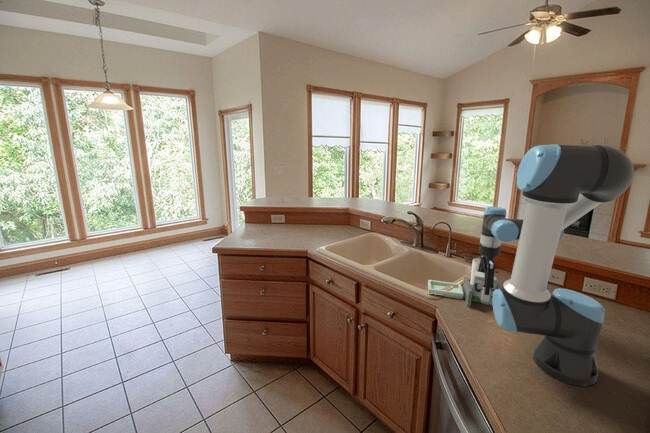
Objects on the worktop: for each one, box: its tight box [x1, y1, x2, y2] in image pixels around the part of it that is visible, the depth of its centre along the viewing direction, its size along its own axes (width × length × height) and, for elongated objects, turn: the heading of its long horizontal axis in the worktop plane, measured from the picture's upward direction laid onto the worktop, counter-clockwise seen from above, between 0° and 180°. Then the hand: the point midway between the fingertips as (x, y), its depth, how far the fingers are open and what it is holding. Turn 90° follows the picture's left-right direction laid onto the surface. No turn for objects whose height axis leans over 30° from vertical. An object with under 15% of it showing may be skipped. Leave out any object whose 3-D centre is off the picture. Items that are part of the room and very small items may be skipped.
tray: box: [427, 279, 464, 300], centre depth 136 cm, size 10×14×2 cm
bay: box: [462, 276, 503, 308], centre depth 127 cm, size 14×13×7 cm
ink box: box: [471, 271, 498, 307], centre depth 127 cm, size 9×5×12 cm, turn 62°
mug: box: [469, 258, 481, 287], centre depth 142 cm, size 10×7×12 cm, turn 119°
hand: (482, 295), depth 128 cm, fingers open, 9 cm apart
